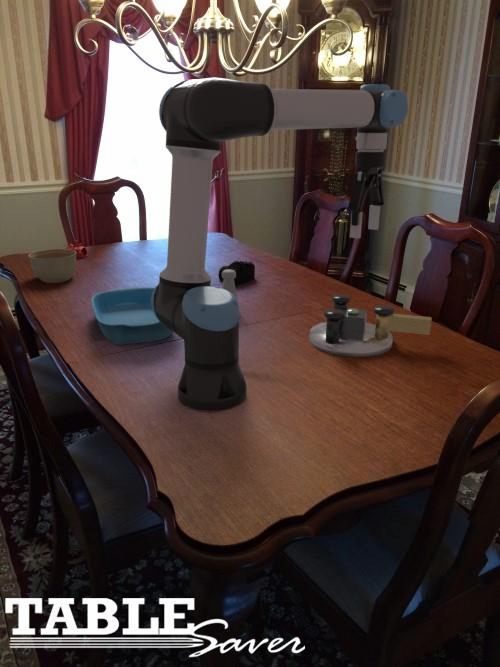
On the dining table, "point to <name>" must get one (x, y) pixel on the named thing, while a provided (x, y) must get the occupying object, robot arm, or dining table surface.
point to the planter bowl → (53, 264)
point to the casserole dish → (128, 316)
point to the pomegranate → (78, 250)
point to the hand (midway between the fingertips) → (364, 233)
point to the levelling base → (351, 343)
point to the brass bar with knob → (399, 322)
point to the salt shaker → (229, 281)
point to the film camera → (240, 272)
